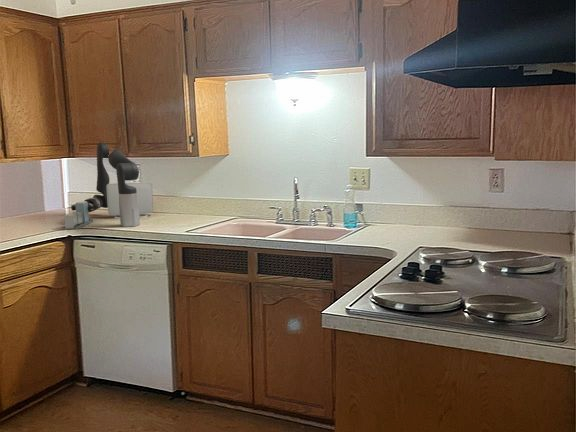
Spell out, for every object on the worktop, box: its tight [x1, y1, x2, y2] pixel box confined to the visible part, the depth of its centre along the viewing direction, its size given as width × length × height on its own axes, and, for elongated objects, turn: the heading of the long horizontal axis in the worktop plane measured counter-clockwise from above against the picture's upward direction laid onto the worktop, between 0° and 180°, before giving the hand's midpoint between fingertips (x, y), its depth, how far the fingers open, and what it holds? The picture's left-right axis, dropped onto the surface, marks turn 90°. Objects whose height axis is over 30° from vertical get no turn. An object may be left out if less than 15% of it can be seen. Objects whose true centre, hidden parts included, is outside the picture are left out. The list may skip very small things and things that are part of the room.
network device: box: [106, 181, 154, 220], centre depth 342 cm, size 26×9×20 cm, turn 108°
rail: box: [61, 211, 94, 230], centre depth 313 cm, size 23×8×8 cm, turn 178°
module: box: [74, 200, 90, 223], centre depth 320 cm, size 6×5×12 cm
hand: (80, 208), depth 318 cm, fingers open, 8 cm apart
